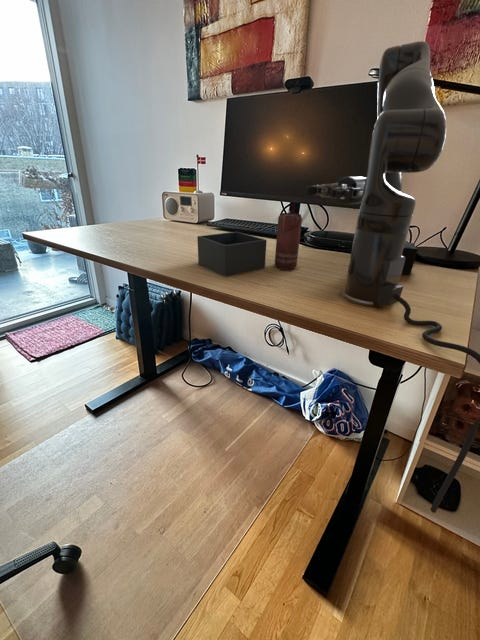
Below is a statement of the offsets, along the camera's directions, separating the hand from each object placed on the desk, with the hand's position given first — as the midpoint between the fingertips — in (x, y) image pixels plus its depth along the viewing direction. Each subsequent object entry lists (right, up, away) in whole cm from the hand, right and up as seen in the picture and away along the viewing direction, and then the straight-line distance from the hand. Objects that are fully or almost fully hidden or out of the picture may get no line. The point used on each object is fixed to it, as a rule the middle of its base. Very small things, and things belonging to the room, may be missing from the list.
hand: (318, 192), depth 80 cm
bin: (-23, -19, +3) cm, 31 cm away
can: (-8, -20, +3) cm, 22 cm away
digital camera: (+24, -20, +4) cm, 31 cm away
